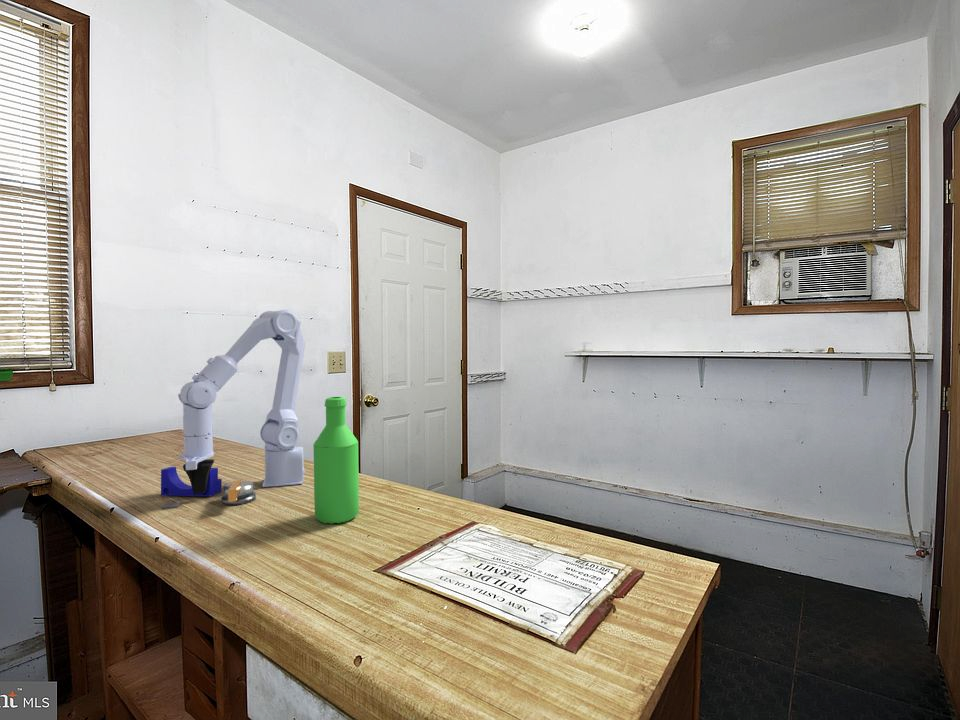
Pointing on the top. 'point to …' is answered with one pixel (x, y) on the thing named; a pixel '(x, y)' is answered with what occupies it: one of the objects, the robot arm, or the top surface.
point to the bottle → (336, 467)
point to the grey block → (170, 505)
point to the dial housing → (239, 500)
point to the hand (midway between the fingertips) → (199, 493)
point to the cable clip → (178, 488)
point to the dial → (238, 490)
